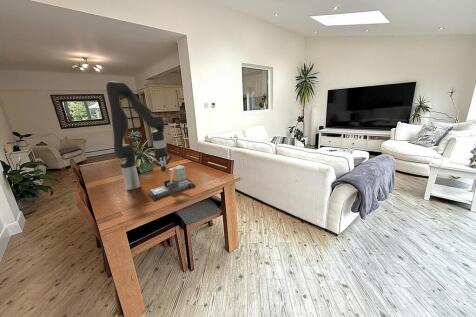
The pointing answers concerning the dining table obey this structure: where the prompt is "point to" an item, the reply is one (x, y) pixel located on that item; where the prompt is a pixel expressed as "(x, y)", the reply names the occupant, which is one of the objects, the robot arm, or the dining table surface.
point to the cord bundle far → (191, 185)
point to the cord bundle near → (153, 196)
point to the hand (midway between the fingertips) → (163, 171)
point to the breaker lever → (173, 174)
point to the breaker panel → (165, 189)
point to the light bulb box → (178, 173)
